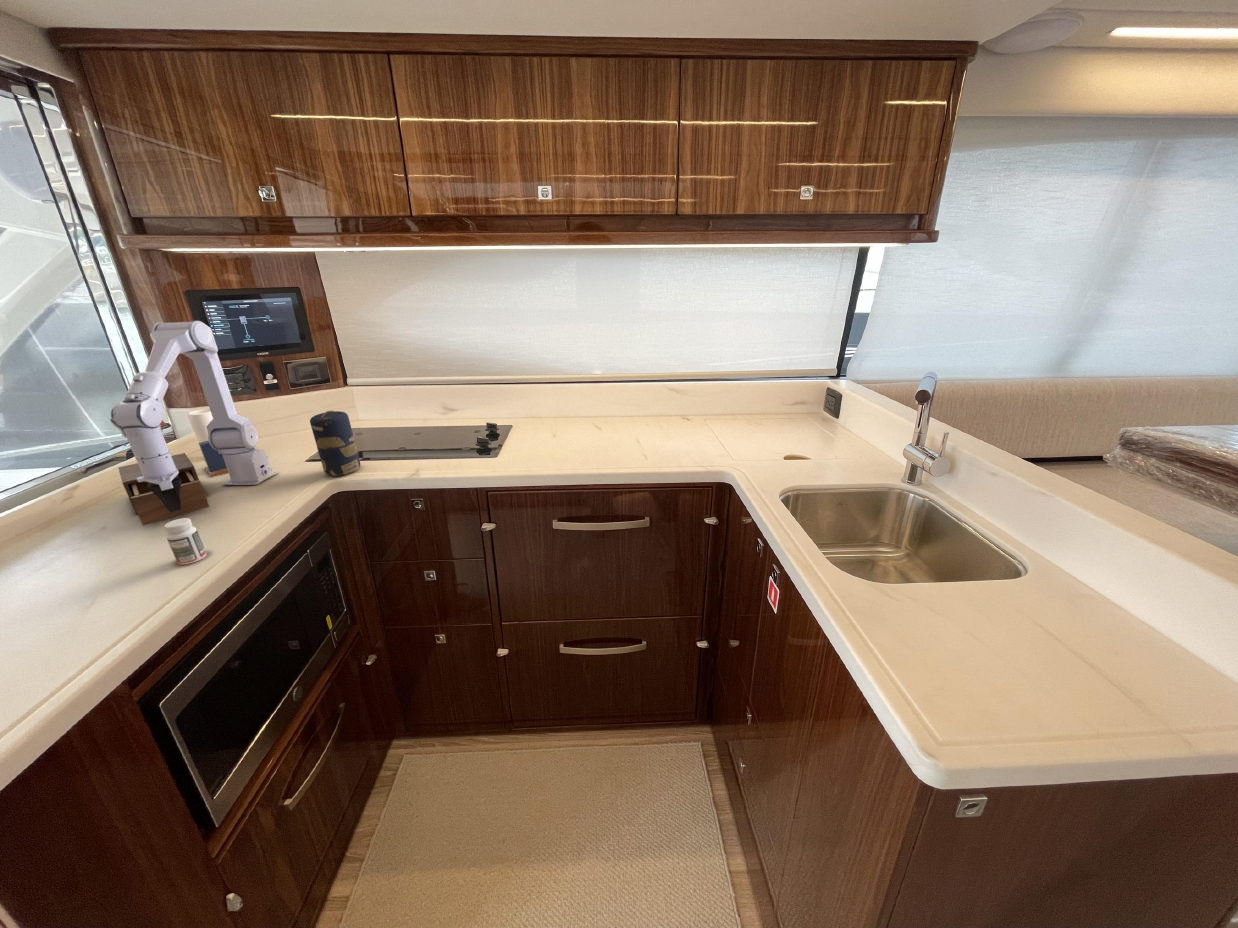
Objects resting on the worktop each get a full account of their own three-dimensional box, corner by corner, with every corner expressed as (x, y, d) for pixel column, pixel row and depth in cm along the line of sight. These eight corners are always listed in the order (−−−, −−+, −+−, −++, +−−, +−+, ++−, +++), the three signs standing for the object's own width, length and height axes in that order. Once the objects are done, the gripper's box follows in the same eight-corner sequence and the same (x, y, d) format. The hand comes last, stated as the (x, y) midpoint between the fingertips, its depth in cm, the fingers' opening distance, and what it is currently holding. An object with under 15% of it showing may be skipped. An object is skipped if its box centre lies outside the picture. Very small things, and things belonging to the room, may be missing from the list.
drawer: (210, 507, 122) (200, 482, 119) (143, 526, 114) (131, 499, 111) (199, 491, 132) (190, 467, 130) (137, 507, 124) (126, 482, 122)
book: (246, 463, 152) (237, 437, 149) (210, 472, 147) (200, 444, 143) (244, 461, 155) (235, 434, 151) (208, 469, 149) (198, 442, 146)
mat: (251, 466, 151) (251, 465, 151) (211, 476, 144) (210, 475, 144) (244, 459, 157) (244, 458, 157) (205, 468, 151) (204, 467, 151)
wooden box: (205, 496, 131) (193, 465, 128) (136, 514, 122) (122, 482, 119) (195, 481, 141) (184, 452, 138) (131, 497, 132) (118, 467, 129)
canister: (369, 467, 146) (354, 407, 140) (342, 479, 138) (326, 416, 131) (344, 464, 149) (328, 405, 143) (316, 476, 141) (299, 414, 134)
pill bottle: (196, 551, 104) (182, 515, 101) (212, 554, 103) (198, 518, 100) (171, 563, 100) (155, 526, 97) (187, 566, 99) (172, 529, 95)
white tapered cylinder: (216, 460, 157) (199, 414, 152) (198, 460, 158) (181, 414, 153) (235, 453, 163) (219, 408, 158) (218, 452, 165) (202, 408, 159)
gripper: (126, 452, 112) (149, 506, 117) (131, 467, 103) (156, 526, 108) (166, 444, 117) (187, 496, 122) (175, 458, 107) (197, 514, 112)
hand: (175, 509), depth 115 cm, fingers closed
